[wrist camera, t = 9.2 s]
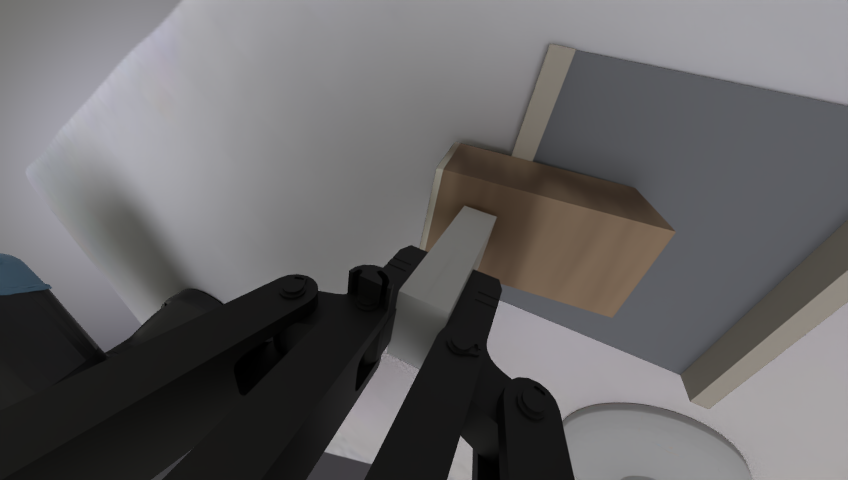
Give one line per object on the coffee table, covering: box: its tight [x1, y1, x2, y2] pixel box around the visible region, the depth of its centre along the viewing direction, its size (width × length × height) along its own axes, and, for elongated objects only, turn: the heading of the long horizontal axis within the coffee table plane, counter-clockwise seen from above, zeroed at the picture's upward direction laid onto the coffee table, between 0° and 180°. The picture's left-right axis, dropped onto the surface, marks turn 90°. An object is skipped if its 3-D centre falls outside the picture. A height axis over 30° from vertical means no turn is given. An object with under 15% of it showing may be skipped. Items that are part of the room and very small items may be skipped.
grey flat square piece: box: [499, 44, 848, 409], centre depth 17 cm, size 16×16×2 cm
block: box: [419, 142, 676, 318], centre depth 16 cm, size 5×5×10 cm
